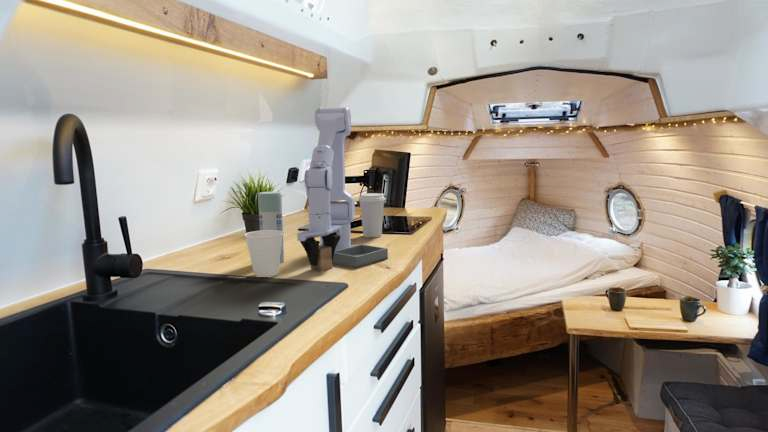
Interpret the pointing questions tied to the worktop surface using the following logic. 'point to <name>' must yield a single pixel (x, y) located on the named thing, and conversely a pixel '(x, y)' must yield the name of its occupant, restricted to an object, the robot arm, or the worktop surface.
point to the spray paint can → (271, 214)
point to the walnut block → (323, 259)
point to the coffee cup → (372, 213)
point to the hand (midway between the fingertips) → (321, 262)
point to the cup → (265, 251)
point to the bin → (360, 255)
